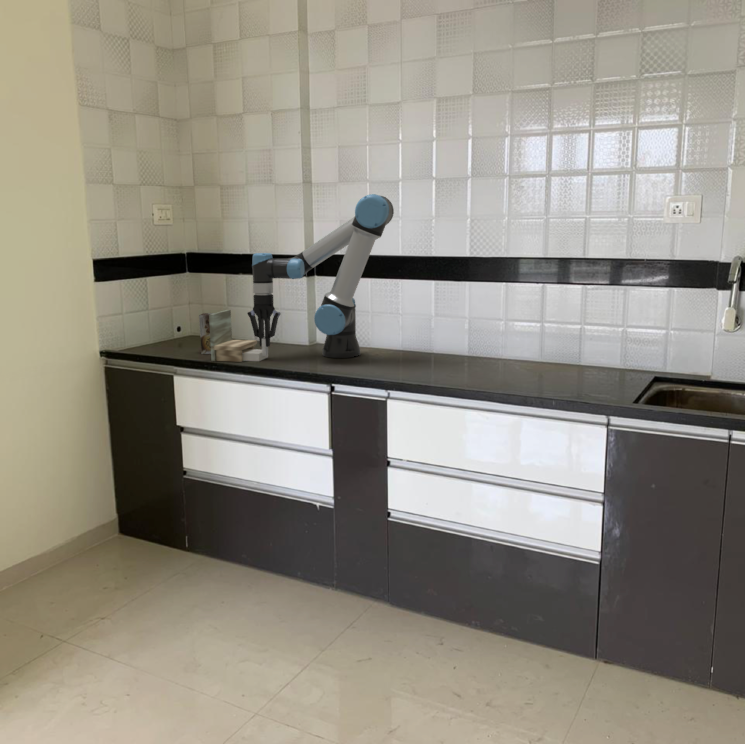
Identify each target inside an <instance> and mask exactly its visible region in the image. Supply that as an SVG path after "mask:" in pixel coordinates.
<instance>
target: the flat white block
mask: <svg viewBox="0 0 745 744" xmlns="http://www.w3.org/2000/svg"><path fill="white" fill-rule="evenodd" d="M268 358H269V354H268V355H266V356H265V355H262V349H260V348H259V349H257V348H255V349H244V350H242V360H243V361H242V362H261V361H264V360H266V359H268Z"/></svg>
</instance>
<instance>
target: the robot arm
mask: <svg viewBox="0 0 745 744" xmlns="http://www.w3.org/2000/svg"><path fill="white" fill-rule="evenodd" d="M394 209H395V208H394V206H393V204H392V202H391V200H390V199H388V198H387V197H386V196H383V195H379V194H376V193H371V194H370V193H369V194H367V195H365V196H363V197H362V198H360V199H359V200H358V202H357V204H356V205H355V208H354V215H355V216H354V217H352V218H350V219H349V220H347V221H346V222H344V223H343V224H341V225H340V226H339V227H337V228H335V229H334V230H333V231H332V232H331V231H330V233H328V234H327V235H325V236H323V237H322V238H321V239H319V240H318V241H316V242H314V243H313V244H312V245H310V246H309V247H307V248H306V249H304V250H303V251H301V252H299V253H298V254H297V255H295V256H294V257H288V258H287V257H286V258H273V254H272V253H270V252H256V253H253V254H252V264H251V268H252V293H253V297H252V298H253V307H252V309H251V310H250V311H247V315H248V317H249V320H250V323H251V327H252V330H253V334H254V335H253V336H254V337H257V338H259V347H261V350H262V355H265V356H266V355H268V356H269V347H271V338H273V337H275V335H276V331H277V326H278V320H279V317H280V315H281V312H280V311H277V310H276V308H275V306H274V294H273V293H274V279H284V280H285V279H286V280H287V279H289V280H296V279H299V280H300V279H303V277H304V276H305V275H306V274H307V273H308V272H309V271H311V270H312V269H313V268H315V267H317V266H318V265H319V264H321V263H323V262H324V261H325V260H327V259H328V258H330V257H332V256H334V255H335V254H336V253H338V252H339V251H341V250H342V249H344V248H346V247H347V248H346V251H345V253H344V255H343V258H342V261H341V264H340V266H339V268H338V271H337V274H336V277H335V279H334V282H333V284H332V287H331V290H330V291H329V292H327V293H325V294H324V296H323V299H322V301H321V304H320V306H319V307H318V308H317V309H316V311H315V312H314V313H315V314H314V317H313V318H314V324H315V326H316V329H317V330H319V332H320V333H322V334H324V335H326V337H325V340H324V342H323V343H324V344H323V347H322V351H321V352H322V356H323V357H326V358H331V359H332V358H333V359H334V358H335V359H347V358H348V359H349V358H354V356H356V357H359V356H361V348H360V344H359V342H358V339H357V333H356V331H357V329H356V327H357V325H356V324H357V323H356V322H357V321H356V307H357V304H356V299H355V298H354V296H355V293H356V290H357V288H358V285H359V283H360V280H361V277H362V275H363V273H364V271H365V267H366V265H367V263H368V260H369V259H370V258H369V257H370V255H371V253H372V250H373V247H374V244H375V242H376V240H378V239H380V238H381V237H382V235H383V233H384V230H385V228H386V226H387V225H388V224H390V223H391V222H392V219H393V218H394V217H393V216H394V213H395V212H394ZM256 317H257V318H256ZM271 317H272V320H271ZM257 321H258V323H257ZM271 321H272V322H271ZM358 355H359V356H358Z"/></svg>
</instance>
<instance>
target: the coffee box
mask: <svg viewBox="0 0 745 744" xmlns="http://www.w3.org/2000/svg"><path fill="white" fill-rule="evenodd" d="M213 313H214V312H203V313H201V314H199V315H198V319H199V320H198V321H199V322H198V323H199V333H200V335H199V336H200V349H201V350H200V351H201V355H211V344H210V325H209V315H210V314H213Z"/></svg>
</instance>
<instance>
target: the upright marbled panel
mask: <svg viewBox="0 0 745 744" xmlns="http://www.w3.org/2000/svg"><path fill="white" fill-rule="evenodd" d="M212 313H213V314H210V315H209V325H210V344H211V354H210V355H211V356H210V357H211V358H210V360H211V362H236V363H237V362H238V363H239V362H240V363H241V362H244V361H243V360H242V350H244V349H256V346H257V344H258V340H256V339H255V340H252V339H233V332H232V331H233V330H232V311H231V309H226V310H221V311H218V312H212Z"/></svg>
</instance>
